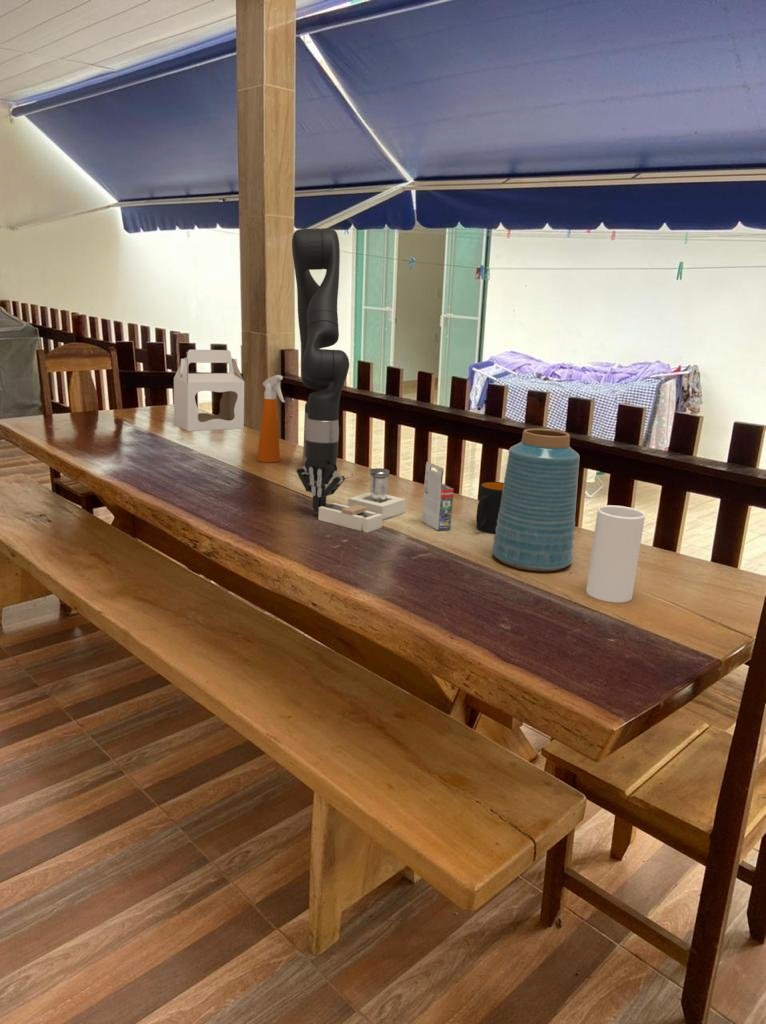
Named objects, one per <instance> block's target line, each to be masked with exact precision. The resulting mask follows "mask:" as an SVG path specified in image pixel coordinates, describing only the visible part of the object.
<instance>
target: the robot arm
mask: <svg viewBox="0 0 766 1024" xmlns="http://www.w3.org/2000/svg"><path fill="white" fill-rule="evenodd" d="M340 249H341V248H340V241H339V235H338V233H337V231H336V230H335V229H333V228H329V227H328V228H326V227H325V228H323V227H320V228H300V229H297V230H295V231H294V233H293V235H292V239H291V253H292V258H293V259H292V260H293V261H292V262H293V266H294V274H295V282H296V292H297V293H296V294H297V296H296V297H297V319H298V329H299V337H300V379H301V384H302V385H303V386H304V387H305V388H308V389H318V390H317V391H314V392H311V393H309V395H308V399H307V401H306V402H305V404H304V419H303V421H304V423H303V424H304V427H303V450H302V451H303V453H302V467H300V468H296V473H297V476H298V479H299V480H300V482H301V484H302V486H303V488H304V490H305V491H306V493H310V494H311V495H312V509H313V512H315V513H319V507H321V506H325V505H327V497H328V496H331V495H334V494H335V492H336V491H337V490H338V489H339V488H340V486H341V485H342V484H343V482H344V481H345V479H346V477H345V476H344V475H341V474H340V473H339V472H338V466H337V463H338V462H337V461H338V455H339V436H340V427H339V416H340V415H339V414H340V413H339V411H340V401H341V395H342V391H343V388H344V384H345V381H346V379H347V376H348V373H349V370H350V359H349V357H348V355H347V353H346V351H344V350H341V349H325V348H329V347H331V346H334V345H336V344H337V342H338V341H339V337H340V332H339V318H338V315H339V314H338V298H339V288H340V287H339V286H340V285H339V283H340V265H341V264H340V262H341V261H340V255H341V253H340ZM310 270H311V271H312V270H313V271H316V270H318V271H319V270H320V271H321V270H326V272H325V275H324V278H323V280H322V282H321V283H320V285H319V284H318V283H317V281H316V280H315V279H314V277H313V276H312V274H311V272H310Z"/></svg>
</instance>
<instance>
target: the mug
mask: <svg viewBox="0 0 766 1024" xmlns="http://www.w3.org/2000/svg"><path fill="white" fill-rule="evenodd" d="M503 485H504V482H501V481H485V482H482V483H481V484H480V486H479V487H480V488H479V497H478V503H477V508H476V516H475V517H476V520H475V521H476V527H475V528H476V529H477V530H478V531H479V532H482V533H486V534H489V535H495V533H496V530H495V529H496V525H497V518H498V512H499V508H500V503H501V496H502V490H503Z"/></svg>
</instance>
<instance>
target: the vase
mask: <svg viewBox="0 0 766 1024" xmlns="http://www.w3.org/2000/svg"><path fill="white" fill-rule="evenodd" d="M570 441H571V435H570V433H568V432H566V431H562V430H557V429H551V428H550V429H549V428H525V429H524V430H523V431H522V438H521V441H520V442H518V443H517V444H514V445H512V446H510V448H508V456H507V462H506V468H505V474H504V478H503V483H504V485H503V490H502V496H501V503H500V508H499V512H498V518H497V525H496V529H495V530H496V533H495V534H493V535H494V536H493V540H494V541H493V544H492V550H491V551H492V554H493V556H494V557H495V558H496V559H498V560H499V561H500V562H501V563H503V564H504V565H506V566H509V567H511V568H516V569H518V570H524V571H529V572H542V573H543V572H548V573H549V572H555V571H559V570H562V569H564V568H567V567H568V566H569V565H571V563H573V557H574V553H573V550H574V545H575V544H574V541H575V531H576V527H575V525H576V510H577V499H578V498H577V497H578V494H577V493H578V483H579V481H578V479H579V469H580V459H581V458H580V454H579V453H578V452H577V451H576V450H574V449H573V448H572V447H571V446H570V443H571V442H570Z"/></svg>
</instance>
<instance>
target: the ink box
mask: <svg viewBox="0 0 766 1024" xmlns="http://www.w3.org/2000/svg"><path fill="white" fill-rule="evenodd" d="M432 468H434V469H435V470H437V471H435V470H432ZM424 472H425V473H424V474H425V475H424V485H423V496H422V497H423V498H422V510H421V511H422V513H421V522H422V523H423V524H425V525H427V526H428V527H430V528H433V529H434V530H436V531H439V532H440V531H442V532H443V531H450V530H451V527H452V526H451V524H452V513H453V500H454V488H453V487H452V486H451V487H450V486H448V485H446V484H444V483H443V478H444V477H443V476H444V467H442V466H439V465H436V464H434V463H431V462H430V461H426V464H425V471H424Z"/></svg>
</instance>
